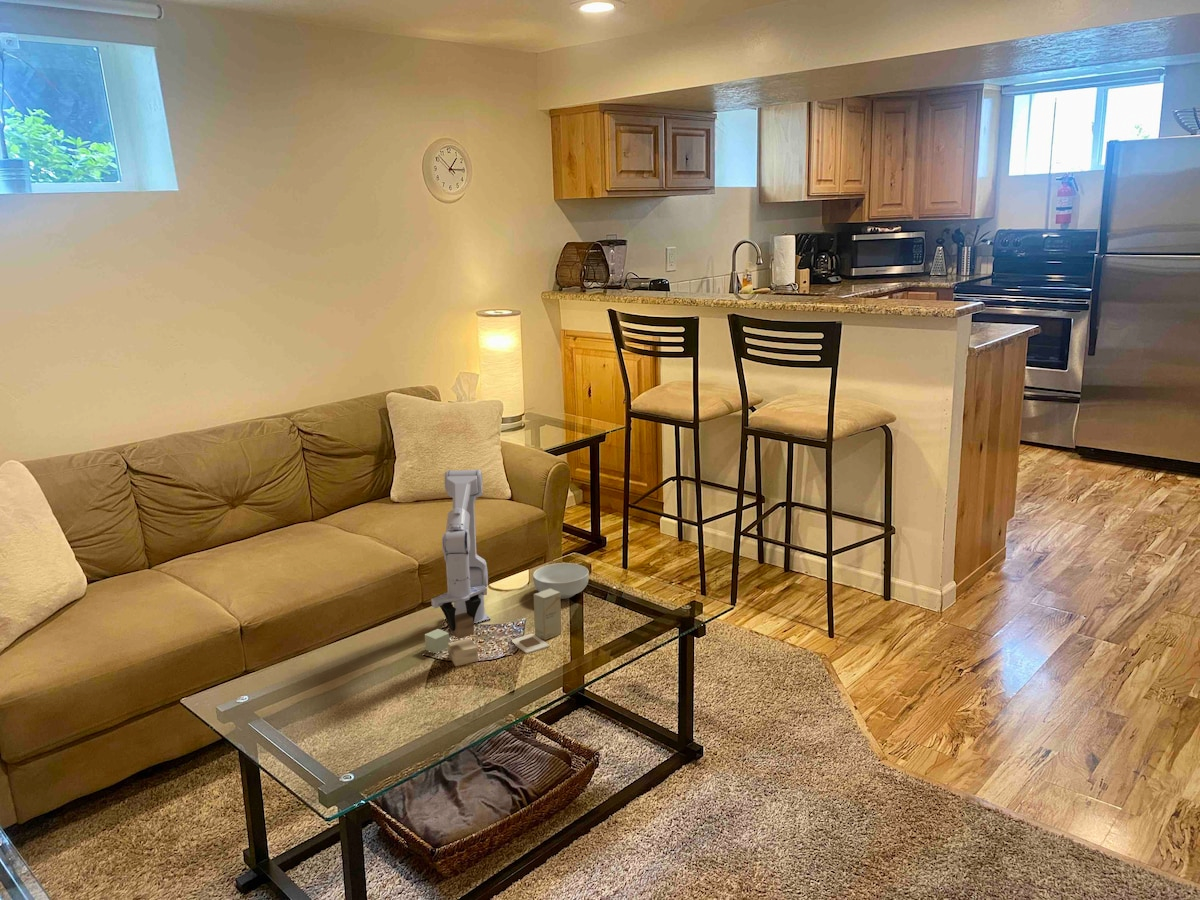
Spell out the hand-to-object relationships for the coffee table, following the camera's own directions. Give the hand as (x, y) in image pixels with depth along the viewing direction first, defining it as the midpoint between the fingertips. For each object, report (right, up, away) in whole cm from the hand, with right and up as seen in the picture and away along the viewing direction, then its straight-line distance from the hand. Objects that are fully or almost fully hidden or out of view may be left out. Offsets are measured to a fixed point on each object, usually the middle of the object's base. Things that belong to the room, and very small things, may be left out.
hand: (461, 626), depth 226 cm
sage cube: (-7, -8, +8) cm, 13 cm away
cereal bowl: (+24, +1, +43) cm, 49 cm away
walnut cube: (0, -2, 0) cm, 2 cm away
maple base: (0, -9, +2) cm, 9 cm away
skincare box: (+21, -5, +15) cm, 27 cm away
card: (+17, -6, +10) cm, 20 cm away
